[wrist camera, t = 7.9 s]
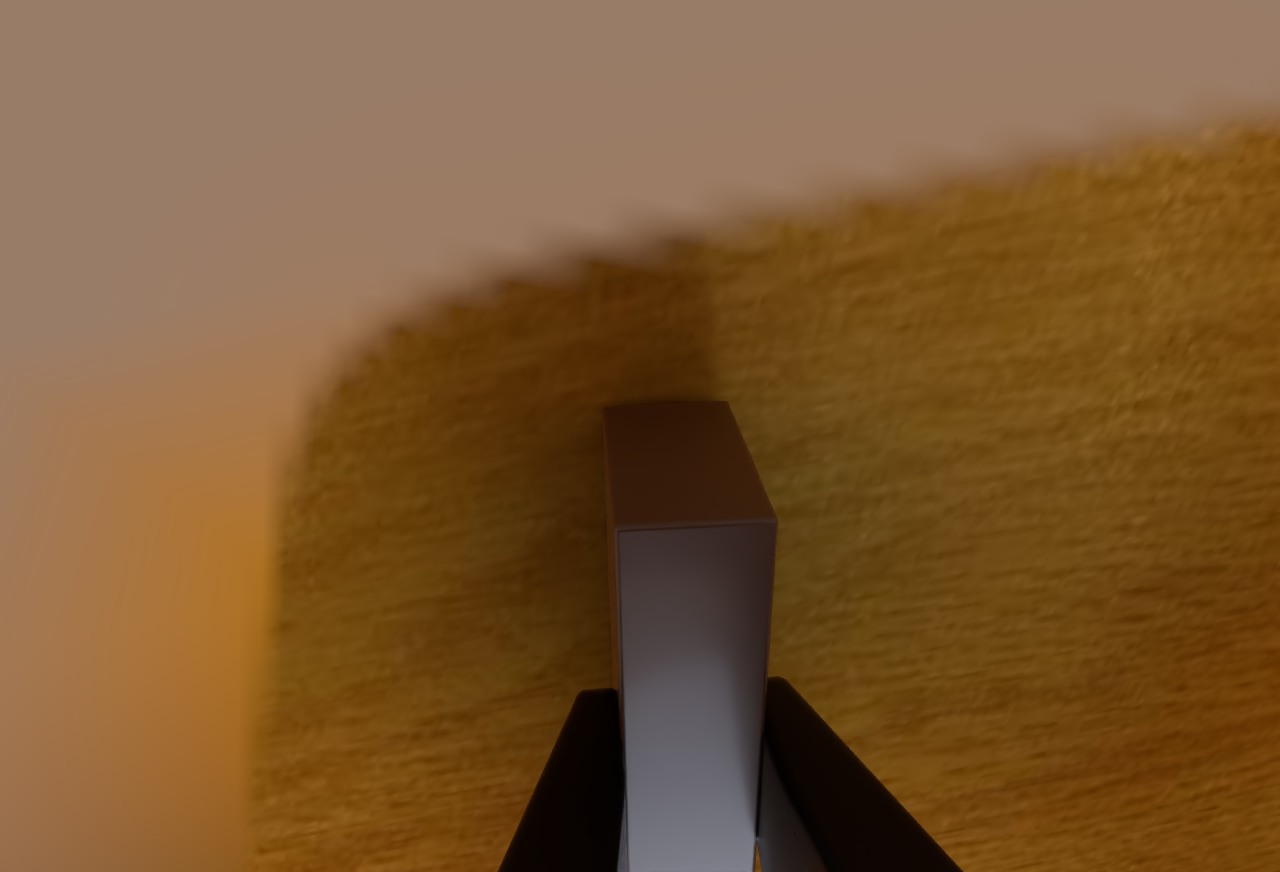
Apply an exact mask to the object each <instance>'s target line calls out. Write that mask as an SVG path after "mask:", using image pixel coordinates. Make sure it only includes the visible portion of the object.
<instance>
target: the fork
mask: <svg viewBox="0 0 1280 872" xmlns="http://www.w3.org/2000/svg"><path fill="white" fill-rule="evenodd" d="M602 430H603V455H604V481H605V506H606V532H607V558H608V583H609V609H610V634H611V660H612V685H613V689H615V690H616V693H617V705H618V717H619V728H620V739H621V742H622V747H623V758H624V769H625V798H626V833H627V868H628V872H755V863H756V848H757V824H758V809H759V794H760V779H761V763H762V748H763V734H764V726H765V710H766V695H767V680H768V664H769V649H770V634H771V619H772V603H773V588H774V573H775V558H776V542H777V527H778V519H777V517H776V515H775V512H774V510H773V508H772V505H771V503H770V501H769V498H768V496H767V493H766V491H765V489H764V486H763V484H762V482H761V479H760V477H759V475H758V472H757V470H756V468H755V465H754V463H753V460H752V458H751V456H750V453H749V451H748V449H747V446H746V444H745V442H744V439H743V437H742V435H741V432H740V430H739V427H738V425H737V423H736V420H735V418H734V416H733V413H732V411H731V409H730V406H729V404H728V402H726V401H713V402H692V403H671V404H650V405H629V406H607V407H604V408H603V410H602Z"/></svg>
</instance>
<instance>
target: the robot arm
mask: <svg viewBox="0 0 1280 872" xmlns="http://www.w3.org/2000/svg"><path fill="white" fill-rule="evenodd" d="M757 844H758V850H759V857H760V863H761V869H762V872H963V871H962V870H961V869H960V868H959V867H958V866H957V864H956V863H955V862H954V861H953V860H952V859H951V858H950V857H949V856H948V855H947V854H946V853H945V851H944V850H943V849H942V848H941V847H940V846H939V845H938V844H937V843H936V842H935V841H934V840H933V838H932V837H931V836H930V835H929V834H928V833H927V832H926V831H925V830H924V829H923V828H922V826H921V825H920V824H919V823H918V822H917V821H916V820H915V819H914V818H913V817H912V816H911V815H910V813H909V812H908V811H907V810H906V809H905V808H904V807H903V806H902V805H901V804H900V803H899V802H898V800H897V799H896V798H895V797H894V796H893V795H892V794H891V793H890V792H889V791H888V790H887V789H886V787H885V786H884V785H883V784H882V783H881V782H880V781H879V780H878V779H877V778H876V777H875V776H874V774H873V773H872V772H871V771H870V770H869V769H868V768H867V767H866V766H865V765H864V764H863V763H862V761H861V760H860V759H859V758H858V757H857V756H856V755H855V754H854V753H853V752H852V751H851V750H850V748H849V747H848V746H847V745H846V744H845V743H844V742H843V741H842V740H841V739H840V738H839V736H838V735H837V734H836V733H835V732H834V731H833V730H832V729H831V728H830V727H829V726H828V725H827V723H826V722H825V721H824V720H823V719H822V718H821V717H820V716H819V715H818V714H817V713H816V712H815V710H814V709H813V708H812V707H811V706H810V705H809V704H808V703H807V702H806V701H805V700H804V699H803V697H802V696H801V695H800V694H799V693H798V692H797V691H796V690H795V689H794V688H793V687H792V686H791V684H790V683H789V682H788V681H787V680H786V679H784V678H782V677H778V676H776V677H768V680H767V695H766V710H765V726H764V734H763V748H762V763H761V779H760V794H759V809H758V824H757ZM498 872H628V868H627V833H626V798H625V769H624V758H623V747H622V742H621V739H620V728H619V717H618V705H617V693H616V690H615V689H613V688H602V689H587V690H582V691H581V692H579V694H578V695H577V697H576V699H575V701H574V703H573V706H572V708H571V710H570V712H569V714H568V717H567V719H566V721H565V723H564V726H563V728H562V730H561V732H560V734H559V737H558V739H557V741H556V743H555V746H554V748H553V750H552V752H551V754H550V757H549V759H548V761H547V763H546V766H545V768H544V770H543V772H542V775H541V777H540V779H539V781H538V783H537V786H536V788H535V790H534V792H533V795H532V797H531V799H530V801H529V803H528V806H527V808H526V810H525V812H524V815H523V817H522V819H521V821H520V823H519V826H518V828H517V830H516V832H515V835H514V837H513V839H512V841H511V843H510V846H509V848H508V850H507V852H506V855H505V857H504V859H503V861H502V863H501V866H500V868H499V870H498Z"/></svg>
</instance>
